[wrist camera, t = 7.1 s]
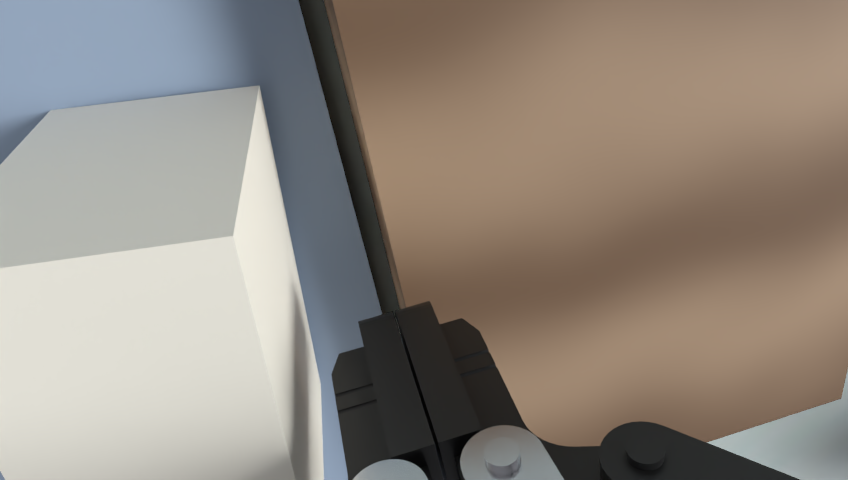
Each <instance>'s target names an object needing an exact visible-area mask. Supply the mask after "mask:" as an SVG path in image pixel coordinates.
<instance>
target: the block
mask: <svg viewBox="0 0 848 480" xmlns="http://www.w3.org/2000/svg"><path fill="white" fill-rule="evenodd" d="M0 472H1V473H2V475H3V477H4V478H5V480H324V466H323V435H322V405H321V383H320V378H319V373H318V369H317V364H316V359H315V354H314V349H313V344H312V339H311V334H310V329H309V325H308V320H307V315H306V310H305V305H304V300H303V295H302V290H301V286H300V281H299V276H298V271H297V266H296V261H295V256H294V251H293V247H292V242H291V237H290V232H289V227H288V222H287V217H286V212H285V208H284V203H283V198H282V193H281V188H280V183H279V178H278V173H277V169H276V164H275V159H274V154H273V149H272V144H271V139H270V134H269V130H268V125H267V120H266V115H265V110H264V105H263V100H262V95H261V91H260V86H259V85H258V86H249V87H241V88H233V89H224V90H216V91H207V92H199V93H191V94H182V95H174V96H166V97H157V98H149V99H140V100H132V101H124V102H115V103H107V104H99V105H90V106H82V107H74V108H65V109H57V110H50V111H49V112H48V114H47V115H46V116H45V117H44V118H43V119H42V120H41V121H40V122H39V123H38V124H37V125H36V127H35V128H34V129H33V130H32V131H31V132H30V133H29V134H28V135H27V136H26V137H25V138H24V140H23V141H22V142H21V143H20V144H19V145H18V146H17V147H16V148H15V149H14V150H13V151H12V153H11V154H10V155H9V156H8V157H7V158H6V159H5V160H4V161H3V162H2V163H1V164H0Z"/></svg>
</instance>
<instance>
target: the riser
mask: <svg viewBox="0 0 848 480" xmlns="http://www.w3.org/2000/svg"><path fill="white" fill-rule="evenodd" d="M324 4H325V8H326V12H327V16H328V20H329V24H330V28H331V32H332V36H333V40H334V44H335V48H336V52H337V56H338V60H339V65H340V69H341V73H342V77H343V81H344V85H345V89H346V93H347V97H348V101H349V105H350V109H351V113H352V117H353V121H354V125H355V129H356V133H357V137H358V141H359V145H360V149H361V153H362V158H363V162H364V166H365V170H366V174H367V178H368V182H369V186H370V190H371V194H372V198H373V202H374V206H375V210H376V214H377V218H378V222H379V226H380V230H381V234H382V238H383V242H384V246H385V250H386V255H387V259H388V263H389V267H390V271H391V275H392V279H393V283H394V287H395V291H396V295H397V299H398V303H399V307H400V309H403V308H406V307H410V306H413V305H417V304H420V303H424V302H427V301H430V302H431V305H432V307H433V309H434V312H435V314H436V317H437V319H438V322H439V324H443V323H446V322H449V321H453V320H456V319H460V318H463V319H464V320H465V321H467V322H468V323H470V324H471V325H472V326H474V327H475V328H476V329H478V330H479V331H480V333H481V335H482V337H483V339H484V341H485V343H486V345H487V347H488V350H489V353H490V354H491V356H492V358H493V360H494V362H495V364H496V367H497V368H498V370H499V372H500V374H501V376H502V378H503V381H504V383H505V385H506V387H507V389H508V391H509V393H510V395H511V397H512V399H513V401H514V403H515V405H516V408H517V410H518V412H519V414H520V416H521V418H522V420H523V422H524V423H525V425H526V426H527V428H528V429H529V430H530V431H531V432H532V433H533V434H535V435H536V436H537V437H539V438H541V439H542V440H545V441H547V442H549V443H553V444H556V445H561V446H573V447H577V446H600V445H601V442H602V441H603V439H604V437H605V436H606V435H607V434H608V433H609V432H610V431H611V430H612V429H614V428H616V427H618V426H620V425H622V424H625V423H630V422H638V421H643V422H652V423H657V424H660V425H663V426H665V427H668V428H671V429H673V430H676V431H678V432H681V433H683V434H686V435H688V436H691V437H693V438H696V439H698V440H701V441H703V442H709V441H712V440H715V439H718V438H722V437H725V436H728V435H731V434H734V433H737V432H740V431H743V430H746V429H749V428H752V427H755V426H758V425H761V424H764V423H767V422H771V421H774V420H777V419H780V418H783V417H786V416H789V415H792V414H795V413H798V412H801V411H804V410H807V409H810V408H813V407H816V406H820V405H823V404H826V403H829V402H832V401H835V400H838V399H841V397H842V392H843V388H844V383H845V378H846V374H847V369H848V0H324Z"/></svg>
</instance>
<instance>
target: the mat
mask: <svg viewBox="0 0 848 480" xmlns="http://www.w3.org/2000/svg"><path fill="white" fill-rule="evenodd" d="M258 85H259V86H260V91H261V95H262V100H263V105H264V110H265V115H266V120H267V125H268V130H269V134H270V139H271V144H272V149H273V154H274V159H275V164H276V169H277V173H278V178H279V183H280V188H281V193H282V198H283V203H284V208H285V212H286V217H287V222H288V227H289V232H290V237H291V242H292V247H293V251H294V256H295V261H296V266H297V271H298V276H299V281H300V286H301V290H302V295H303V300H304V305H305V310H306V315H307V320H308V325H309V329H310V334H311V339H312V344H313V349H314V354H315V359H316V364H317V369H318V373H319V378H320V383H321V405H322V435H323V466H324V480H348V473H347V467H346V461H345V455H344V449H343V443H342V437H341V431H340V424H339V418H338V412H337V406H336V400H335V394H334V388H333V382H332V375H331V374H332V371H333V368H334V366H335V363H336V360H337V357H338V355H339V354H340V353H343V352H347V351H350V350H353V349H357V348H360V347H364V345H363V341H362V337H361V332H360V328H359V324H358V321H361V320H365V319H368V318H372V317H375V316H379V315H382V312H381V308H380V304H379V300H378V297H377V293H376V289H375V285H374V282H373V278H372V274H371V270H370V267H369V263H368V259H367V255H366V252H365V248H364V244H363V240H362V237H361V233H360V229H359V225H358V222H357V218H356V214H355V210H354V207H353V203H352V199H351V195H350V192H349V188H348V184H347V180H346V177H345V173H344V169H343V165H342V162H341V158H340V154H339V150H338V147H337V143H336V139H335V135H334V132H333V128H332V124H331V120H330V117H329V113H328V109H327V105H326V102H325V98H324V94H323V90H322V87H321V83H320V79H319V75H318V72H317V68H316V64H315V60H314V57H313V53H312V49H311V45H310V42H309V38H308V34H307V30H306V27H305V23H304V19H303V15H302V12H301V8H300V4H299V0H0V164H1V163H2V162H3V161H4V160H5V159H6V158H7V157H8V156H9V155H10V154H11V153H12V151H13V150H14V149H15V148H16V147H17V146H18V145H19V144H20V143H21V142H22V141H23V140H24V138H25V137H26V136H27V135H28V134H29V133H30V132H31V131H32V130H33V129H34V128H35V127H36V125H37V124H38V123H39V122H40V121H41V120H42V119H43V118H44V117H45V116H46V115H47V114H48V112H49V111H50V110H57V109H65V108H74V107H82V106H90V105H99V104H107V103H115V102H124V101H132V100H140V99H149V98H157V97H166V96H174V95H182V94H191V93H199V92H207V91H216V90H224V89H233V88H241V87H249V86H258ZM0 480H5V478H4V477H3V475H2V473H1V472H0Z"/></svg>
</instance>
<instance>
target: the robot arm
mask: <svg viewBox="0 0 848 480" xmlns="http://www.w3.org/2000/svg"><path fill="white" fill-rule="evenodd" d="M395 313H396V317H397V321H398V325H399V329H400V333H401V336H400V333H399V330H398V326H397V323H396V320H395V317H394V314H393V312H389V313H386V314H382V315H379V316H375V317H372V318H368V319H365V320H361V321H358V324H359V328H360V332H361V337H362V341H363V345H364V347H360V348H357V349H353V350H350V351H347V352H343V353H340V354H339V355H338V357H337V360H336V363H335V366H334V368H333V371H332V374H331V375H332V382H333V388H334V394H335V400H336V406H337V412H338V418H339V424H340V431H341V437H342V443H343V449H344V455H345V461H346V467H347V473H348V480H799V479H797V478H794V477H792V476H789V475H787V474H784V473H782V472H779V471H777V470H774V469H772V468H769V467H767V466H764V465H761V464H759V463H756V462H754V461H751V460H749V459H746V458H744V457H741V456H739V455H736V454H734V453H731V452H729V451H726V450H724V449H721V448H719V447H716V446H713V445H711V444H708V443H706V442H703V441H701V440H698V439H696V438H693V437H691V436H688V435H686V434H683V433H681V432H678V431H676V430H673V429H671V428H668V427H665V426H663V425H660V424H657V423H652V422H643V421H638V422H630V423H625V424H622V425H620V426H618V427H616V428H614V429H612V430H611V431H610V432H609V433H608V434H607V435H606V436H605V437H604V439H603V441H602V442H601V445H600V446H577V447H573V446H561V445H556V444H553V443H549V442H547V441H545V440H542V439H541V438H539V437H537V436H536V435H535V434H533V433H532V432H531V431H530V430H529V429H528V428H527V426H526V425H525V423H524V422H523V420H522V418H521V416H520V414H519V412H518V410H517V408H516V405H515V403H514V401H513V399H512V397H511V395H510V393H509V391H508V389H507V387H506V385H505V383H504V381H503V378H502V376H501V374H500V372H499V370H498V368H497V367H496V364H495V362H494V360H493V358H492V356H491V354H490V353H489V350H488V347H487V345H486V343H485V341H484V339H483V337H482V335H481V333H480V331H479V330H478V329H476V328H475V327H474V326H472V325H471V324H470V323H468V322H467V321H465V320H464V319H463V318H460V319H456V320H453V321H449V322H446V323H443V324H439V322H438V319H437V317H436V314H435V312H434V309H433V307H432V305H431V302H430V301H427V302H424V303H420V304H417V305H413V306H410V307H406V308H403V309H399V310H396V311H395ZM401 337H402V339H401ZM402 341H403V342H402Z"/></svg>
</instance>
